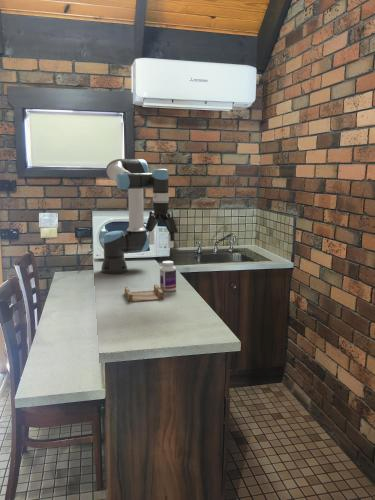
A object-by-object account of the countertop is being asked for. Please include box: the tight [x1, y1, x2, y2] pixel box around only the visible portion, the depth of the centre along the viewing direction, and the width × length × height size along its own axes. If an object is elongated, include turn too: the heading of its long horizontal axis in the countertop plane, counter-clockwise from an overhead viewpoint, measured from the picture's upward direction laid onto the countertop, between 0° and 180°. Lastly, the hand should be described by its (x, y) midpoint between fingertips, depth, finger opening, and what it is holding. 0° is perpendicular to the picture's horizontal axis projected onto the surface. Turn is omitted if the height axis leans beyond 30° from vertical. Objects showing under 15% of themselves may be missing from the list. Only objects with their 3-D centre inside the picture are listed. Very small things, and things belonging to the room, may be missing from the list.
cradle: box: [124, 284, 165, 303], centre depth 202 cm, size 14×16×4 cm
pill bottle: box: [159, 260, 177, 292], centre depth 212 cm, size 8×8×14 cm
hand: (161, 246), depth 206 cm, fingers open, 13 cm apart
